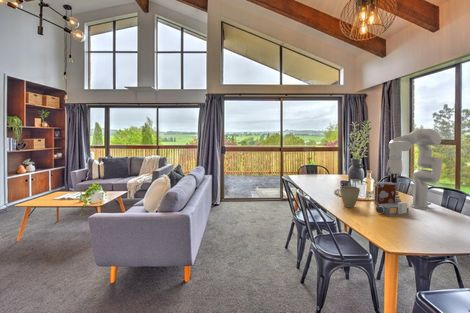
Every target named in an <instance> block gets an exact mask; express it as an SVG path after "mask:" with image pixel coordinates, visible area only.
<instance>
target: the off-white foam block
mask: <svg viewBox="0 0 470 313" xmlns="http://www.w3.org/2000/svg"><path fill="white" fill-rule="evenodd" d="M407 208H408V202H407V201H403V202H402V201H401V202H400V203H398V214H403V213H407Z"/></svg>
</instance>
